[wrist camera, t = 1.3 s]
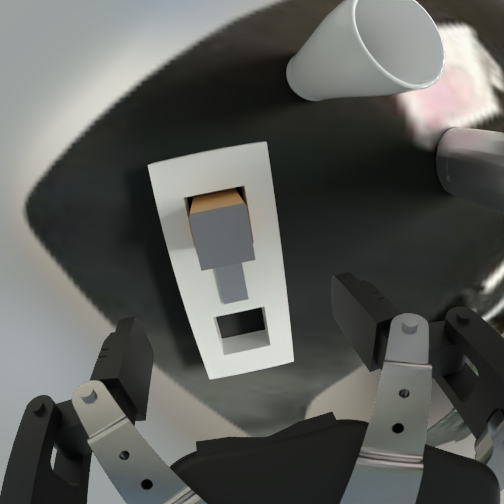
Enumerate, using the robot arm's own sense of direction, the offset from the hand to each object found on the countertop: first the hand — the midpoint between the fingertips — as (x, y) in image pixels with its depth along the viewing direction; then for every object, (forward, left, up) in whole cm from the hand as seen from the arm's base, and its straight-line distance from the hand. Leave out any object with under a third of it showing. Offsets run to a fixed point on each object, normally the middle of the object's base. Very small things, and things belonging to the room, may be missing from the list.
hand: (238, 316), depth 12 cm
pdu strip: (0, +6, -18) cm, 19 cm away
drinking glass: (-11, -12, -18) cm, 24 cm away
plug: (0, 0, -18) cm, 18 cm away
